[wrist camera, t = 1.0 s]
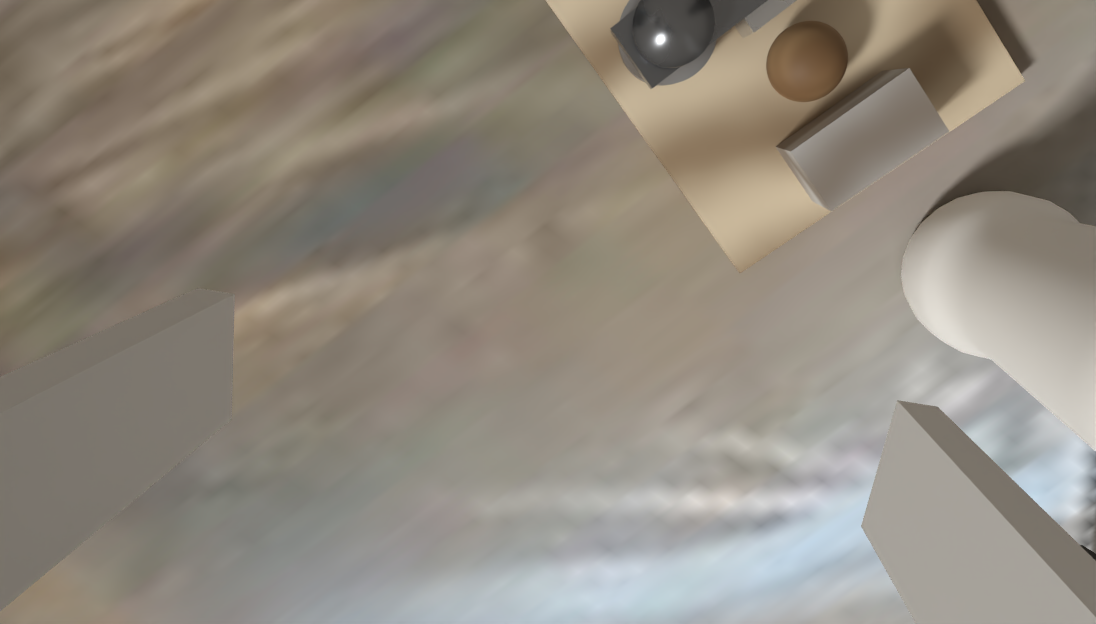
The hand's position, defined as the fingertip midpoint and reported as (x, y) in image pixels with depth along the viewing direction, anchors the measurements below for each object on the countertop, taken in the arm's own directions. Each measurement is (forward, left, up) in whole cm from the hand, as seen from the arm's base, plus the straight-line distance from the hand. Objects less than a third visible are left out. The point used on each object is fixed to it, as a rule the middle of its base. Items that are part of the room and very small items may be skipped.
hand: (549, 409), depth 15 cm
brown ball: (0, +12, -26) cm, 29 cm away
